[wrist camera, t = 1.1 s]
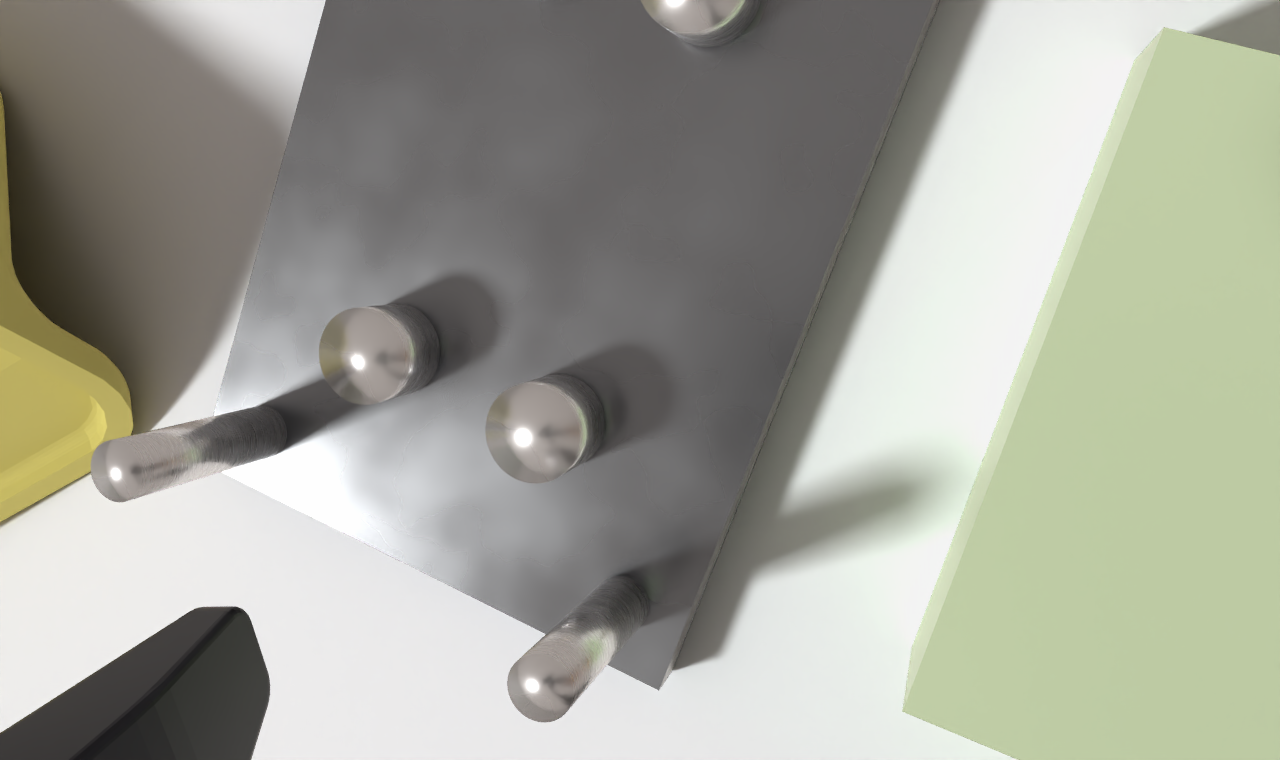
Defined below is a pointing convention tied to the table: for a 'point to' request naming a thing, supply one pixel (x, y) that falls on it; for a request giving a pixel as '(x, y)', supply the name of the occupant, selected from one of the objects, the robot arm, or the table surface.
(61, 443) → the plastic component
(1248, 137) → the board
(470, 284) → the chassis
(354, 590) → the table surface
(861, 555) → the table surface
